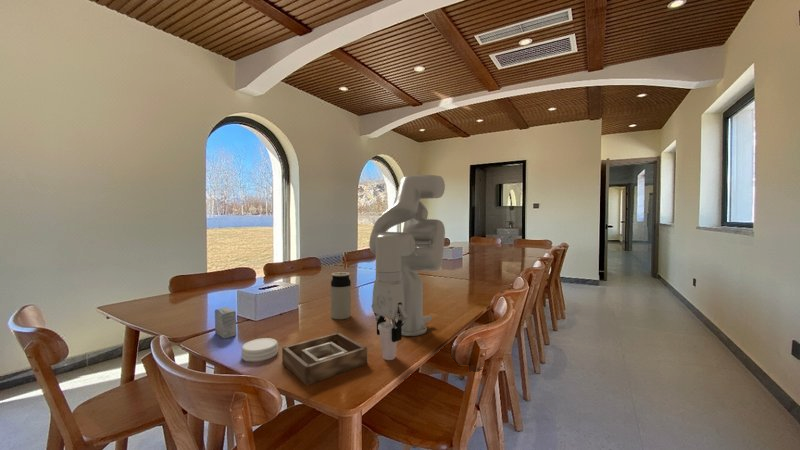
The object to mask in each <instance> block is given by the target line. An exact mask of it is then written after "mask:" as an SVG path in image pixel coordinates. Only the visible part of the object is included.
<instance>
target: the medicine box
mask: <svg viewBox="0 0 800 450" xmlns="http://www.w3.org/2000/svg"><path fill="white" fill-rule="evenodd" d="M236 314H237V313H236V311H235V310H234V309H232V308H230V307H228V306H226V307H222V308H221V307H220V308H217V309H214V327H215V328H214V330H215V331H214V332H215V334H216V335H218V336H219V337H220V338H222V339H228V338H231V337H235V336H237V317H236V316H237V315H236Z"/></svg>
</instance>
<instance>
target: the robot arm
mask: <svg viewBox="0 0 800 450" xmlns="http://www.w3.org/2000/svg"><path fill="white" fill-rule="evenodd" d="M445 189H446V184H445V180H444V178H443V177H442V176H441V175H436V174H435V175H434V174H417V175H416V174H415V175H413V174H412V175H406V176H404V177H403V178H402V179H401V180H400V181H399V184H398V187H397V191H396V194H395V198H394V202H393V205H392V206H391V207H390V208H388V209H386V211H384V212H383V213H382V214H381V215H380V216H379V217H377V219H376V221H375V222H374V224H373V227H372V230H371V233H370V238H369V242H368V244H369V246H368V247H369V251H370V252H371V253H372V254H373V255H375V280H374V283H373V288H372V298H371V299H372V301H371V303H372V304H371V308H372V312H373V314H374V316H375V318H374V319H375V321H376V335H377V336H380V332H379V329H378V325H379V324H380V323H382V322H387V319H388V320H389V319H391V322H392V324H393V328H392V342H396V341H397V342H399V341H401V340H402V336H406V337H416V336H420V335H424V334H425V333H426V332H427V325H426V324H425V323H426V322H430V321H431V320H432V315H426V316H424V315H423V306H424V305H423V303H424V302H423V301H424V299H423V298H424V297H423V295H424V294H423V292H424V291H423V285H424V284H423V280H422V278H421V276H420V275H419V273H418V272H417V271H424V272H437V271H439V270H440V269H441V267H442V263H443V258H444V250H445V249H444V248H445V241H446V239H445V238H446V230H445V224H444V223H443V221H442V220H440V219H435V218H434V219H433V218H432V219H431V218H428V215H429V212H428V208H427V207H426V205H424V203H423V202H422V201H421V199H425V200H426V199H439V198H442V197H443V195H444V193H445ZM400 224H403V228H402V231H397V232H396V231H388V230H390V229H391V228H393V227H395V226H397V225H400Z"/></svg>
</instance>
